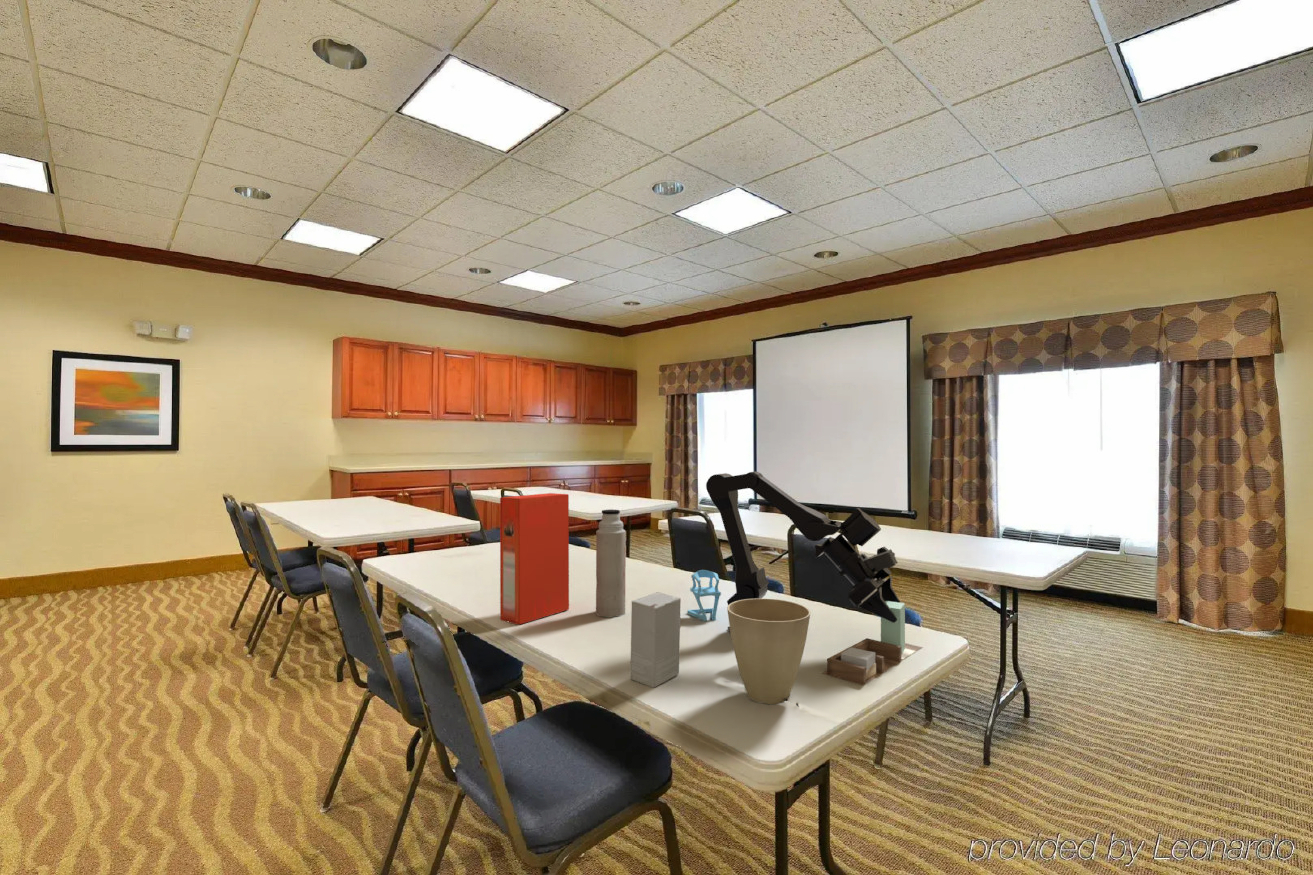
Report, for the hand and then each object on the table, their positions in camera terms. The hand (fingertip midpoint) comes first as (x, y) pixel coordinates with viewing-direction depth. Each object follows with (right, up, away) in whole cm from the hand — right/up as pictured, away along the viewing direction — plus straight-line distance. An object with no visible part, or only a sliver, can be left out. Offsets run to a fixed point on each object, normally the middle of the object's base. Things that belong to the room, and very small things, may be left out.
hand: (899, 615), depth 130 cm
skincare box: (-53, -9, -12) cm, 55 cm away
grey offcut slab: (-13, -6, -12) cm, 19 cm away
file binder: (-85, -9, +31) cm, 91 cm away
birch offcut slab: (-13, -8, -12) cm, 19 cm away
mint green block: (-1, -8, +1) cm, 8 cm away
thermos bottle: (-65, -9, +33) cm, 74 cm away
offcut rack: (-7, -9, -4) cm, 12 cm away
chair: (-40, -9, +30) cm, 51 cm away
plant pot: (-32, -9, -20) cm, 39 cm away
